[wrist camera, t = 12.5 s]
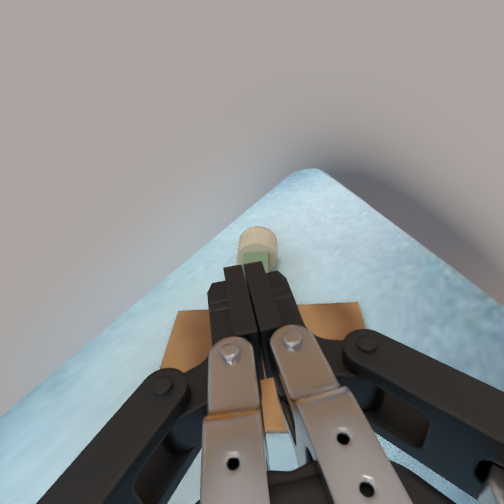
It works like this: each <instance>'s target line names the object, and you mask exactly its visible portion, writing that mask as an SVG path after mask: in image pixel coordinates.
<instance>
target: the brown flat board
mask: <svg viewBox="0 0 504 504" xmlns="http://www.w3.org/2000/svg"><path fill="white" fill-rule="evenodd" d="M297 307H298V309H299V312H300V314H301V317H302V319H303V322H304V324H305V326H306V328H307V329H308V330H310V331H311V332H312V333H313V334H314V335H316V336H318V337H321V338H325V339H333V340H344V338H345V337H346V335H347V334H348V333H350V332H352V331H354V330H358V329H365V326H364V322H363V319H362V315H361V312H360V308H359V305H358V302H351V303H331V304H311V305H297ZM211 347H212V340H211V329H210V317H209V310H191V311H178V314H177V317H176V320H175V324H174V327H173V330H172V333H171V336H170V339H169V342H168V345H167V348H166V352H165V355H164V358H163V361H162V364H161V367H160V369H163V368H176V369H179V370H181V371H182V372H183V373H184V372H186V371H188V370H190V369H192V368H194V367H196V366H198V365H199V364H201V363H202V362H203V361H204V360H205V359H206V358H207V356H208V355H209V352H210V350H211ZM261 357H262V356H261ZM262 363H263V361H262ZM263 370H264V377H265V379H263V380H260V382H261V388H262V408H263V417H264V425H265V433H289V432H288V429H287V426H286V424H285V421H284V418H283V415H282V412H281V409H280V406H279V403H278V400H277V394H276V387H275V383H274V379H273V377H272V378H268V379H267V378H266V374H265V369H264V365H263ZM373 432H374V431H373Z"/></svg>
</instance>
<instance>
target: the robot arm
mask: <svg viewBox="0 0 504 504" xmlns="http://www.w3.org/2000/svg"><path fill="white" fill-rule="evenodd" d="M243 267H244V271H243ZM243 267H242V264H241V265H236V266H230V267H225V268H224V275H225V281H221V282H216V283H212V284H211V287H210V289H209V291H208V293H207V294H208V304H209V305H208V306H209V317H210V329H211V340H212V347H211V350H210V352H209V355H208V356H207V358H206V359H205V360H204V361H203V362H202V363H201V364H199V365H198V366H196V367H194V368H192V369H190V370H188V371H186V372H184V373H183V372H182V371H181V370H179V369H176V368H163V369H160V370H157V371H155V372H154V373H152V374H151V375H149V376H148V377H147V378H146V379H145V380H144V381H143V383H142V384H141V385H140V386H139V387H138V388H137V389H136V391H135V392H134V393H133V394H132V395H131V396H130V397H129V398H128V400H127V401H126V402H125V403H124V404H123V405H122V406H121V408H120V409H119V410H118V411H117V412H116V413H115V414H114V416H113V417H112V418H111V419H110V420H109V421H108V422H107V424H106V425H105V426H104V427H103V428H102V429H101V430H100V432H99V433H98V434H97V435H96V436H95V437H94V438H93V440H92V441H91V442H90V443H89V444H88V445H87V446H86V448H85V449H84V450H83V451H82V452H81V453H80V454H79V456H78V457H77V458H76V459H75V460H74V461H73V462H72V464H71V465H70V466H69V467H68V468H67V469H66V470H65V471H64V473H63V474H62V475H61V476H60V477H59V478H58V479H57V481H56V482H55V483H54V484H53V485H52V486H51V487H50V489H49V490H48V491H47V492H46V493H45V494H44V495H43V497H42V498H41V499H40V500H39V501H38V502H37V503H36V504H167V502H168V501H169V499H170V498H171V496H172V494H173V493H174V491H175V490H176V488H177V486H178V485H179V483H180V482H181V480H182V478H183V477H184V475H185V474H186V472H187V470H188V469H189V467H190V466H191V464H192V462H193V461H194V459H195V458H196V456H197V454H198V453H199V451H200V450H201V448H202V457H201V488H200V500H199V501H198V502H197V503H195V504H456V503H455V502H453V501H452V500H451V499H449V498H448V497H447V496H445V495H444V494H442V493H441V492H440V491H438V490H437V489H436V488H434V487H433V486H431V485H430V484H429V483H427V482H426V481H425V480H423V479H422V478H420V477H419V476H418V475H416V474H415V473H413V472H412V471H411V470H409V469H407V468H405V467H404V466H402V465H400V464H398V463H395V462H393V461H391V460H389V459H388V457H387V455H386V454H385V452H384V450H383V448H382V446H381V445H380V443H379V441H378V439H377V437H376V435H375V434H374V432H375V433H377V434H378V435H380V436H381V437H383V438H384V439H386V440H387V441H389V442H390V443H392V444H393V445H395V446H396V447H398V448H399V449H401V450H402V451H404V452H405V453H407V454H409V455H410V456H412V457H413V458H415V459H416V460H418V461H419V462H421V463H422V464H424V465H425V466H427V467H428V468H430V469H431V470H433V471H434V472H436V473H437V474H439V475H440V476H442V477H443V478H445V479H446V480H448V481H449V482H451V483H452V484H454V485H455V486H457V487H458V488H460V489H461V490H463V491H464V492H466V493H467V494H469V495H470V496H472V497H473V498H475V499H476V500H478V503H479V504H504V392H502V391H500V390H498V389H496V388H494V387H492V386H490V385H488V384H486V383H483V382H481V381H479V380H477V379H475V378H473V377H471V376H469V375H467V374H465V373H462V372H460V371H458V370H456V369H454V368H452V367H450V366H448V365H446V364H444V363H441V362H439V361H437V360H435V359H433V358H431V357H429V356H427V355H425V354H423V353H420V352H418V351H416V350H414V349H412V348H410V347H408V346H406V345H404V344H402V343H399V342H397V341H395V340H393V339H391V338H389V337H387V336H385V335H383V334H381V333H378V332H376V331H373V330H369V329H358V330H354V331H352V332H350V333H348V334H347V335H346V337H345V338H344V340H333V339H325V338H321V337H318V336H316V335H314V334H313V333H312V332H311V331H310V330H308V329H307V328H306V326H305V324H304V322H303V319H302V317H301V314H300V312H299V309H298V307H297V304H296V302H295V299H294V297H293V294H292V292H291V289H290V287H289V284H288V282H287V279H286V278H285V277H284V276H283V275H282V274H281V273H279V272H278V271H274V272H269V273H266V272H265V269H264V266H263V263H262V261H257V262H251V263H246V264H243ZM244 274H245V276H244ZM261 356H262V357H261ZM262 361H263V363H262ZM263 365H264V369H265V374H266V378H267V379H268V378H272V377H273V379H274V383H275V387H276V394H277V400H278V403H279V406H280V409H281V412H282V415H283V418H284V421H285V424H286V426H287V429H288V432H289V435H290V438H291V441H292V444H293V447H294V450H295V454H296V457H297V462H298V466H299V468H297V469H295V470H293V471H270V465H269V458H268V450H267V441H266V433H265V425H264V417H263V408H262V388H261V382H260V380H263V379H265V377H264V370H263ZM373 431H374V432H373Z"/></svg>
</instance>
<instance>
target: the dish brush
mask: <svg viewBox="0 0 504 504" xmlns="http://www.w3.org/2000/svg"><path fill="white" fill-rule="evenodd" d="M257 261H262V263H263V266H264V269H265V272H266V273H269V272H271V271H272V270H273V269H274V268H275V266H276V264H277V239H276V236H275V235H274V233H273V232H272V231H271V230H269V229H267V228H265V227H261V226H255V227H251V228H248V229H247V230H245V231H244V232H243V233H242V235H241V236H240V240H239V246H238V253H237V263H238V265H241V264H242V267H243V264H246V263H251V262H257ZM243 271H244V267H243ZM244 276H245V274H244Z"/></svg>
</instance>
